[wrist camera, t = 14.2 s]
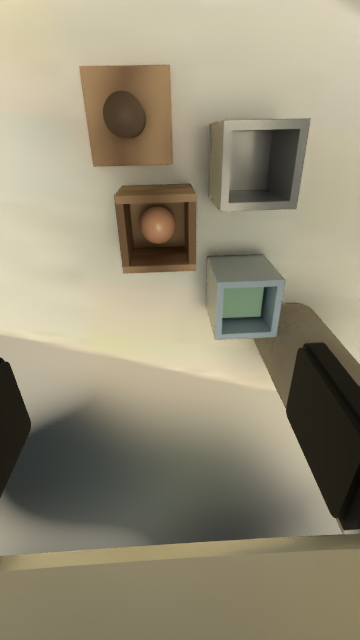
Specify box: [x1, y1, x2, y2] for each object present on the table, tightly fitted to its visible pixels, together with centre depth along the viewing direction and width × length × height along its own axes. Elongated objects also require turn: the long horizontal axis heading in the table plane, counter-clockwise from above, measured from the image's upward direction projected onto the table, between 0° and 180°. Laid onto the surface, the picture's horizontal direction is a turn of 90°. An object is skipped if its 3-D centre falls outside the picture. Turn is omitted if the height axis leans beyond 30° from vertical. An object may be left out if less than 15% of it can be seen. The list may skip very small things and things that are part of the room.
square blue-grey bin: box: [206, 254, 285, 340], centre depth 32 cm, size 6×6×7 cm
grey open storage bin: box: [209, 119, 310, 211], centre depth 26 cm, size 6×6×7 cm
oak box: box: [114, 184, 196, 273], centre depth 29 cm, size 6×6×6 cm
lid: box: [79, 65, 172, 166], centre depth 25 cm, size 7×7×6 cm
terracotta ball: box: [140, 206, 176, 244], centre depth 30 cm, size 3×3×3 cm
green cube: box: [222, 287, 264, 318], centre depth 33 cm, size 4×4×4 cm
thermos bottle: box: [255, 303, 360, 534], centre depth 27 cm, size 8×8×28 cm
